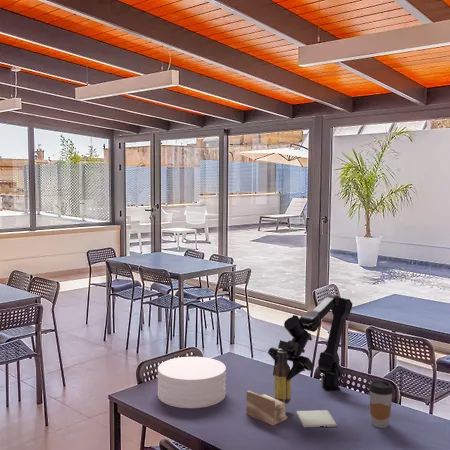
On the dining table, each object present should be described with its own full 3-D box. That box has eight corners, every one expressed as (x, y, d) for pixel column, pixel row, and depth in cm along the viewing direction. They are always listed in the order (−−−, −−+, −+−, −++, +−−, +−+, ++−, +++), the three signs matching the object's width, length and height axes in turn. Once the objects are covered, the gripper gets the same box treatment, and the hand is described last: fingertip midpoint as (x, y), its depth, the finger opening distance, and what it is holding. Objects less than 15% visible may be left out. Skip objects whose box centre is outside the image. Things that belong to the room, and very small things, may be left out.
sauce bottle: (285, 397, 207) (286, 347, 206) (293, 403, 201) (294, 352, 200) (271, 399, 205) (272, 349, 203) (278, 405, 199) (279, 354, 197)
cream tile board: (327, 412, 202) (327, 410, 202) (336, 426, 190) (336, 424, 190) (296, 413, 201) (296, 410, 201) (303, 427, 189) (303, 425, 189)
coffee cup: (392, 421, 195) (393, 381, 194) (391, 431, 187) (392, 390, 186) (368, 417, 198) (370, 378, 197) (367, 427, 190) (368, 386, 189)
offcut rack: (261, 407, 206) (262, 385, 205) (287, 418, 196) (288, 394, 196) (246, 414, 199) (246, 391, 199) (272, 425, 190) (273, 401, 190)
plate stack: (185, 414, 199) (185, 385, 198) (144, 392, 220) (144, 365, 219) (239, 396, 217) (239, 369, 216) (197, 377, 238) (197, 352, 237)
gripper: (270, 327, 210) (252, 361, 203) (309, 337, 197) (291, 373, 190) (282, 342, 217) (265, 375, 210) (321, 353, 204) (303, 388, 197)
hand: (280, 377), depth 201 cm, fingers closed on sauce bottle, 6 cm apart
